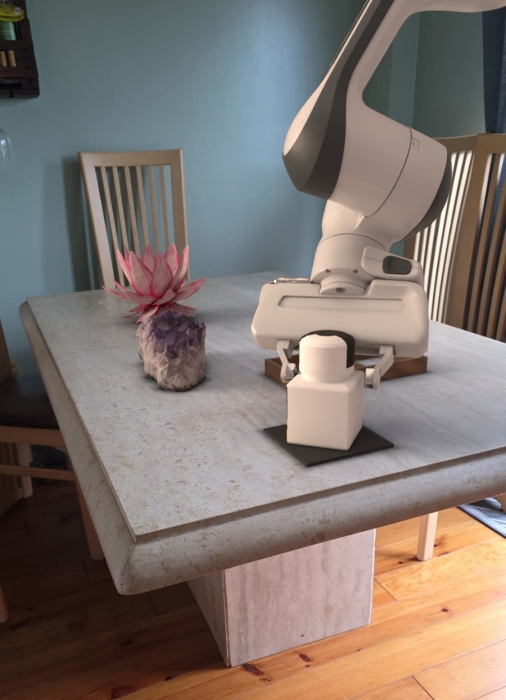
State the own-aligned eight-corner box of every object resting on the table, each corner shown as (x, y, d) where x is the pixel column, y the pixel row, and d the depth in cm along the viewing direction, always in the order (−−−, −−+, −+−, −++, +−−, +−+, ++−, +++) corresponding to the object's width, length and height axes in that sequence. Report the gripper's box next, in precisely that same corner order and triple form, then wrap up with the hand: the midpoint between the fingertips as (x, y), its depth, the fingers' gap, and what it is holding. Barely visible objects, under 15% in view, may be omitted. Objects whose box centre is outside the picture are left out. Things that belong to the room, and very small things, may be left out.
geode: (229, 387, 90) (217, 321, 86) (151, 406, 89) (134, 339, 84) (205, 347, 108) (194, 290, 103) (140, 362, 106) (125, 305, 102)
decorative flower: (100, 334, 123) (89, 254, 117) (118, 311, 142) (109, 242, 136) (208, 329, 123) (203, 250, 117) (211, 308, 143) (207, 239, 136)
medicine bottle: (304, 421, 76) (305, 324, 71) (362, 428, 74) (367, 327, 69) (286, 444, 70) (285, 339, 65) (348, 452, 68) (352, 344, 63)
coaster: (341, 416, 79) (342, 412, 78) (393, 448, 69) (393, 443, 69) (263, 432, 75) (263, 428, 74) (306, 468, 65) (307, 463, 65)
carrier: (383, 355, 103) (384, 340, 102) (426, 372, 94) (428, 356, 93) (264, 374, 95) (264, 358, 94) (298, 396, 86) (298, 378, 85)
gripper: (258, 261, 74) (233, 364, 69) (436, 263, 67) (421, 376, 63) (270, 292, 79) (247, 389, 75) (436, 297, 73) (421, 403, 69)
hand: (328, 383), depth 69 cm, fingers open, 8 cm apart
